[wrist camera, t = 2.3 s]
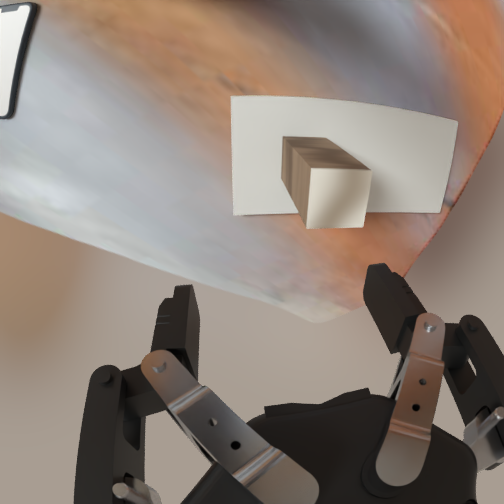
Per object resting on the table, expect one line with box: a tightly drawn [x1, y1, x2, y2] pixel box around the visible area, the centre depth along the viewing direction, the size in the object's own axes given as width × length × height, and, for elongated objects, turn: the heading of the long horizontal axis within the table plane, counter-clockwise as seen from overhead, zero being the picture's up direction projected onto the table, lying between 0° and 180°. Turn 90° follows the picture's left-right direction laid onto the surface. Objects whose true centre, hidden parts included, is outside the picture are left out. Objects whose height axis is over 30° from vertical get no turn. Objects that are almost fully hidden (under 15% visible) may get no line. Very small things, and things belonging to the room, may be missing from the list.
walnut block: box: [281, 136, 373, 229], centre depth 28 cm, size 5×5×12 cm
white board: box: [231, 95, 458, 215], centre depth 34 cm, size 30×14×2 cm, turn 90°
